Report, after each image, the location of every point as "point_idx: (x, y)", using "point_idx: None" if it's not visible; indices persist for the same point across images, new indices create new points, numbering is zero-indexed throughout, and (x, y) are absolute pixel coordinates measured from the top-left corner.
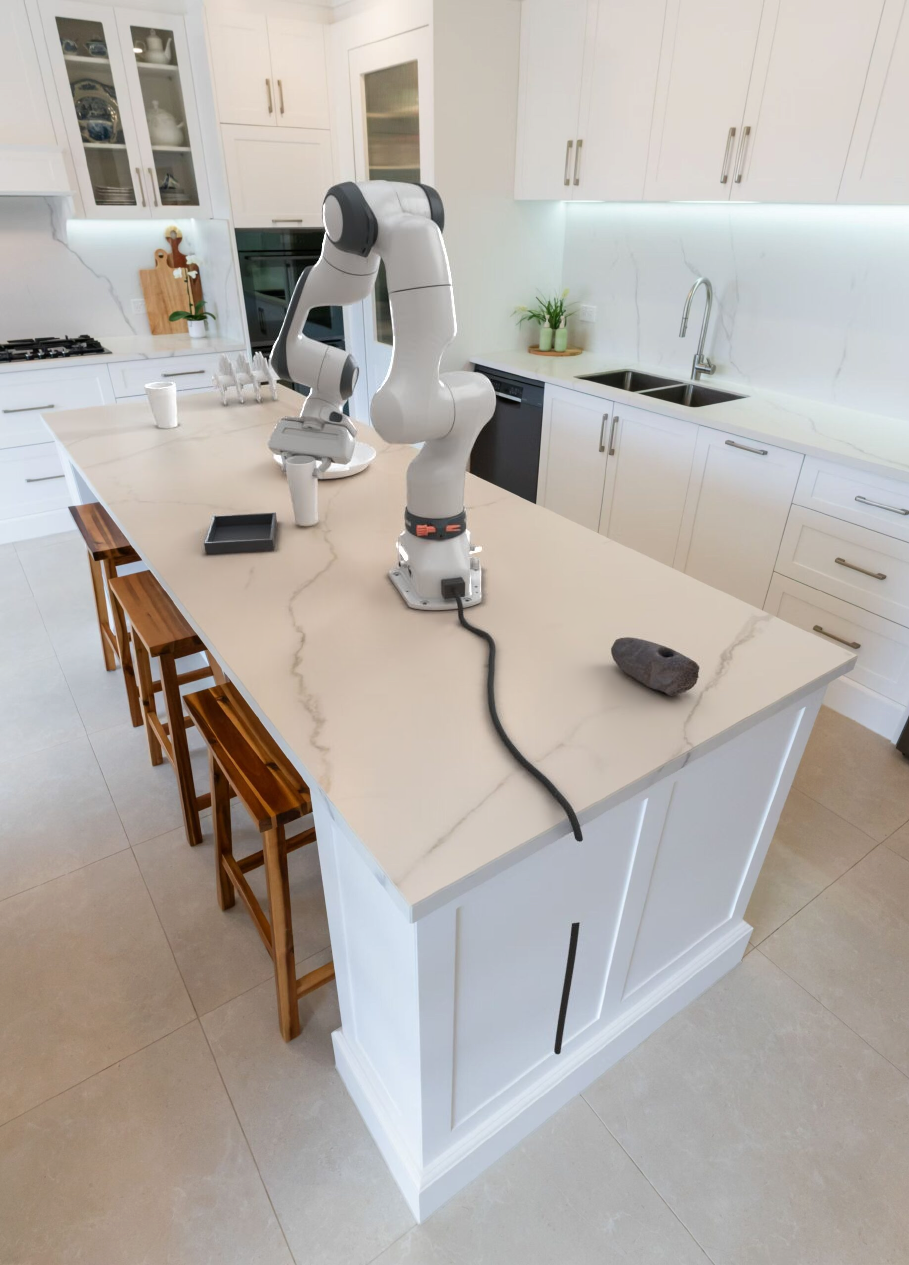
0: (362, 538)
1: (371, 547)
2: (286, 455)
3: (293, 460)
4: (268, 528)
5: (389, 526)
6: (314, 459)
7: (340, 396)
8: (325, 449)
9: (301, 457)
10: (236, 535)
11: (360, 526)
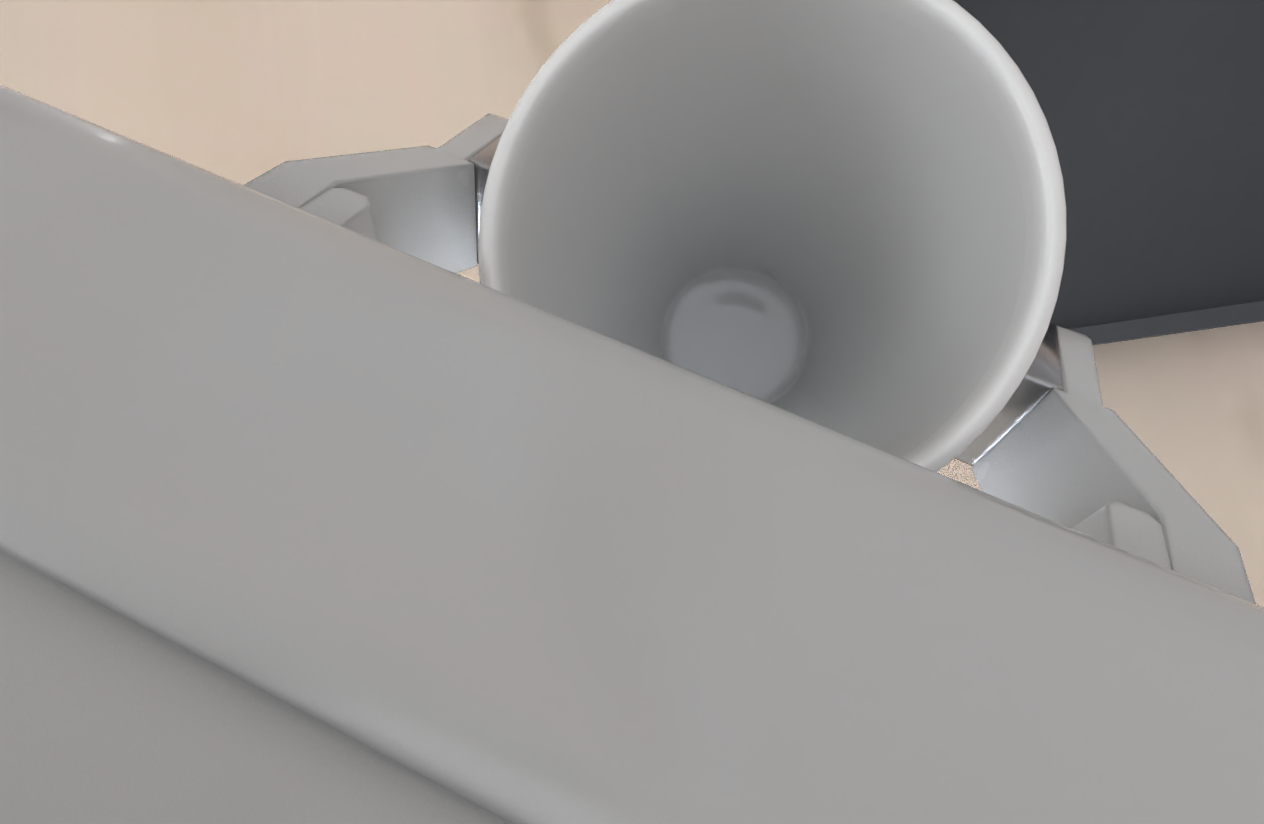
0: (380, 146)
1: (321, 23)
2: (1105, 512)
3: (916, 436)
4: None
5: None
6: (493, 274)
7: None
8: (115, 224)
9: None
10: (1205, 122)
11: None
